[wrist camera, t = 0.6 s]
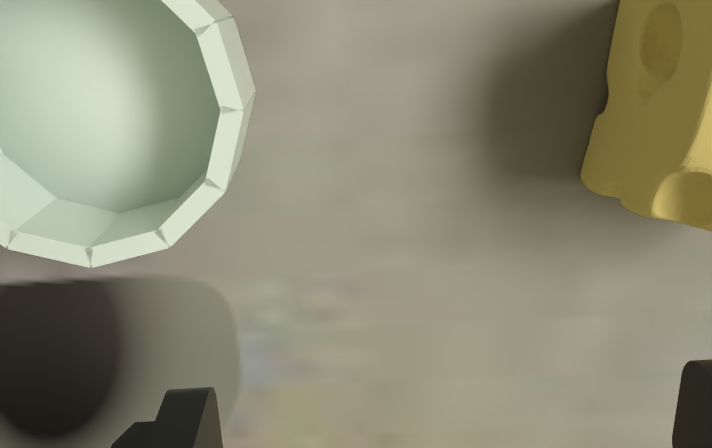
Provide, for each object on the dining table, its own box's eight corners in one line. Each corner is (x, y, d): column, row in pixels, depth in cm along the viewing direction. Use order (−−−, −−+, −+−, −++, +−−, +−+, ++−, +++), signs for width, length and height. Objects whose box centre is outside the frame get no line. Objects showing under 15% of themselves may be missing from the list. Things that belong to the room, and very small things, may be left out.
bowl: (-21, -101, 32) (-95, -121, 26) (279, -12, 34) (272, -13, 28) (-47, 185, 36) (-115, 221, 30) (219, 248, 38) (202, 293, 32)
